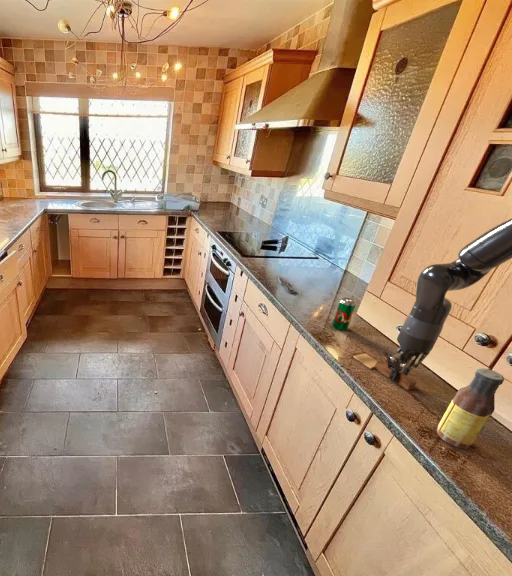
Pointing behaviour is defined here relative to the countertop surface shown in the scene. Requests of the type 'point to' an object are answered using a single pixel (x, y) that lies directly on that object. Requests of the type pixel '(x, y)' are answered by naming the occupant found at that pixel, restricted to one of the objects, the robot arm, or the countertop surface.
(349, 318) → the soda can
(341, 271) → the countertop surface
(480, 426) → the sauce bottle
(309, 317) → the countertop surface
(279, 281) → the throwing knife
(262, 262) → the countertop surface
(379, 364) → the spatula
